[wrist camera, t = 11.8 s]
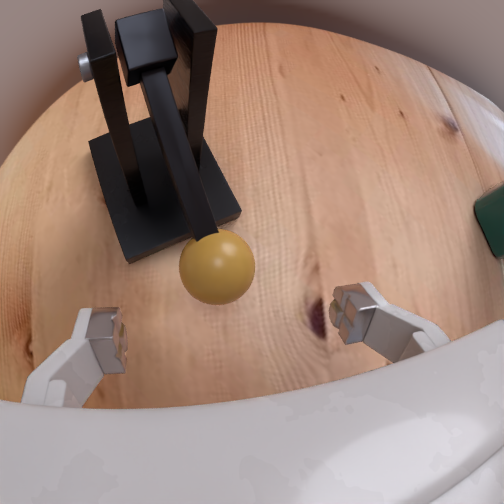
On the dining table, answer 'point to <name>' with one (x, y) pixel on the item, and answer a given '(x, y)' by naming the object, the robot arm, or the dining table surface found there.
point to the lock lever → (182, 164)
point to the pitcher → (492, 217)
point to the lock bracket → (154, 136)
